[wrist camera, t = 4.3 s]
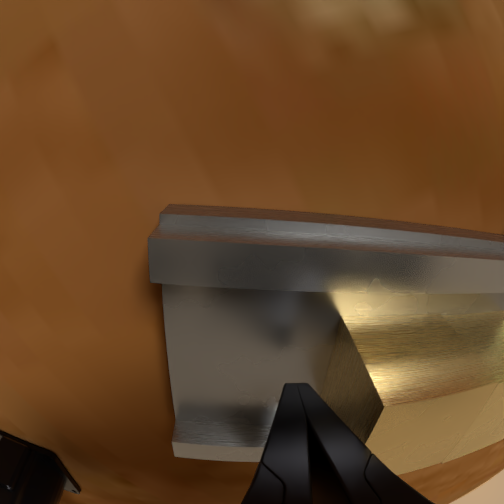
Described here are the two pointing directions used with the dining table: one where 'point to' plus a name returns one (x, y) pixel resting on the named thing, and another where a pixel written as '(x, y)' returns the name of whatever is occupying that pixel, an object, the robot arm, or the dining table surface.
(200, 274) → the slot rail
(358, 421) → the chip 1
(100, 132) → the dining table surface
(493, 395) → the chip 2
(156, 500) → the dining table surface
